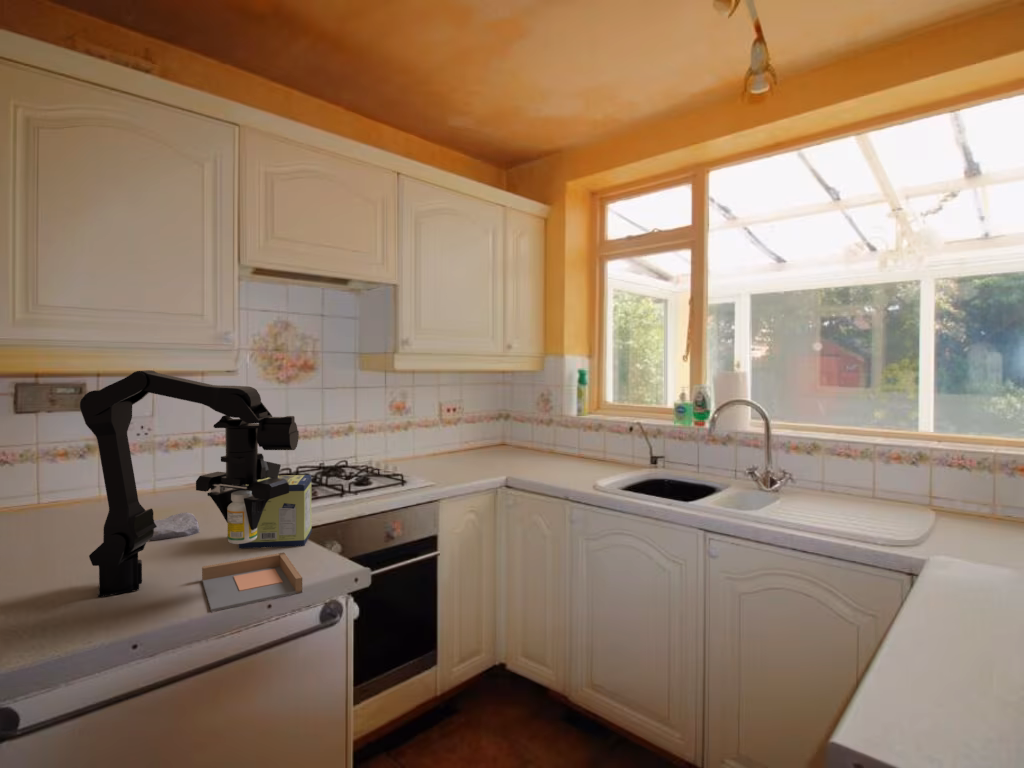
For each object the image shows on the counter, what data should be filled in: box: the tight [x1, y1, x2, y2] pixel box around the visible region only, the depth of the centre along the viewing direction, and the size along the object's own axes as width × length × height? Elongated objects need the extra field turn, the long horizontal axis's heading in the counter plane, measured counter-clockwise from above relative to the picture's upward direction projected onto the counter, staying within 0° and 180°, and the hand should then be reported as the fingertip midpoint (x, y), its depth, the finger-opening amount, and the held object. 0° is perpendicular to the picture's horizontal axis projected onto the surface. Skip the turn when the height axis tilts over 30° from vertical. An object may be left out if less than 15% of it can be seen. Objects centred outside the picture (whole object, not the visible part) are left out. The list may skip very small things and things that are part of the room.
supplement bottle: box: [227, 490, 257, 545], centre depth 110 cm, size 5×5×10 cm
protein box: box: [238, 474, 313, 549], centre depth 138 cm, size 10×16×16 cm
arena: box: [201, 552, 303, 613], centre depth 112 cm, size 16×16×3 cm
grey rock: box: [149, 512, 200, 541], centre depth 142 cm, size 12×5×10 cm
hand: (242, 527), depth 110 cm, fingers closed on supplement bottle, 5 cm apart
